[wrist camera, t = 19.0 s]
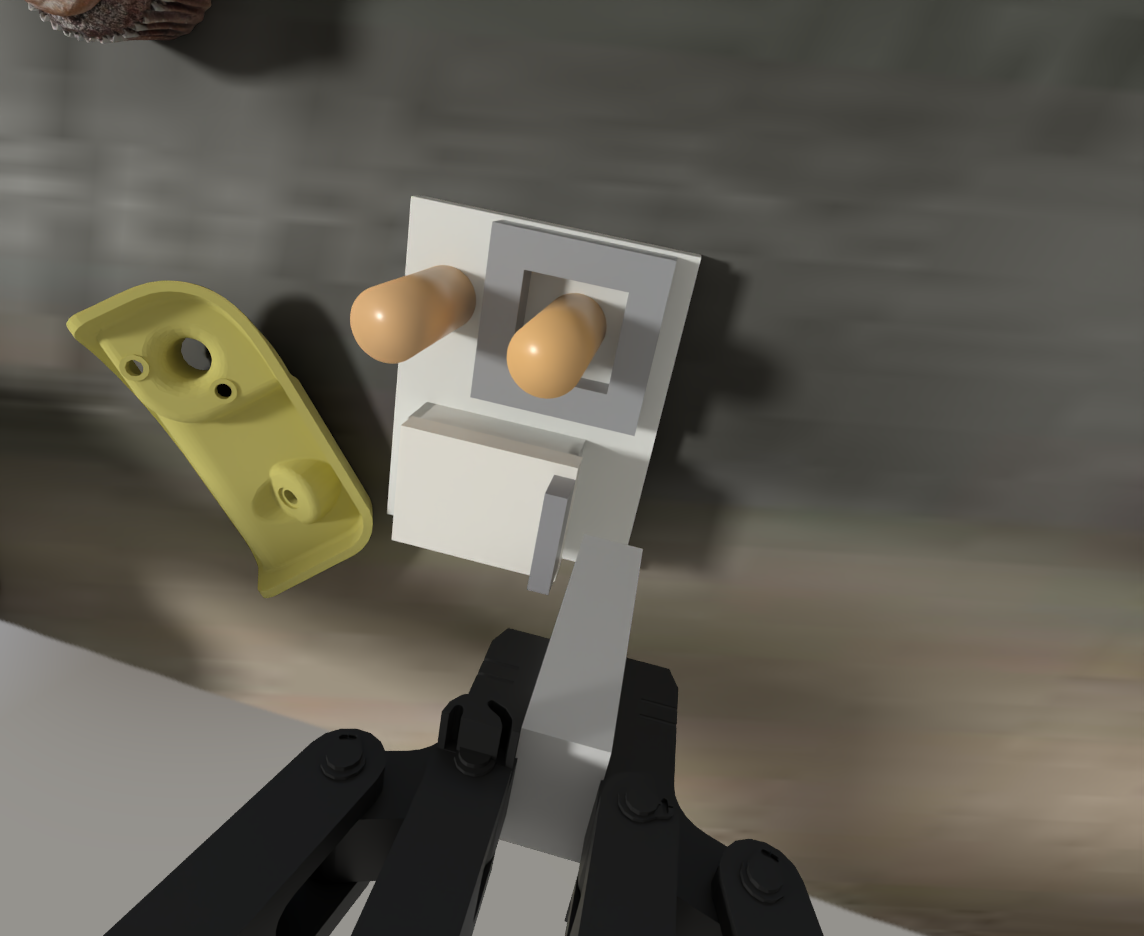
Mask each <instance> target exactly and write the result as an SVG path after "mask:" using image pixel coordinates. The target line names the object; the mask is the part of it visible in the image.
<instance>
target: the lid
mask: <svg viewBox="0 0 1144 936" xmlns="http://www.w3.org/2000/svg"><path fill="white" fill-rule="evenodd" d="M582 458H583V457H580V456H576V455H572V454H568V453H564V452H559V451H555V450H551V449H547V448H543V447H539V446H535V445H530V444H526V443H522V442H518V441H514V440H510V439H506V438H501V437H497V436H493V435H489V434H485V433H481V432H477V431H472V430H468V429H464V428H460V427H456V426H452V425H447V424H443V423H439V422H435V421H431V420H427V419H423V418H418V417H414V416H412V417H410V418H409V419H408V420H407V421H406V422H404V423H403V424H402V425H401V430H400V443H399V455H398V467H397V479H396V492H395V504H394V516H393V528H392V540H394V541H398V542H402V543H406V544H410V545H414V546H418V547H421V548H425V549H429V550H433V551H437V552H441V553H445V554H449V555H452V556H456V557H460V558H464V559H468V560H472V561H476V562H480V563H484V564H487V565H491V566H495V567H499V568H503V569H507V570H511V571H515V572H518V573H522V574H526V575H530V576H529V581H528V586H527V590H530V591H534V592H538V593H542V594H546V595H548V594H549V591H550V589H551V586H552V583H553V582H555V579H556V576H557V574H558V571H559V568H560V564H561V559H562V554H563V549H564V545H565V540H566V535H567V530H568V526H569V521H570V516H571V511H572V506H573V502H574V497H575V492H576V487H577V482H578V478H579V473H580V468H581V463H582Z"/></svg>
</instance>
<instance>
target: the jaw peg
mask: <svg viewBox="0 0 1144 936" xmlns="http://www.w3.org/2000/svg"><path fill="white" fill-rule="evenodd" d="M606 328H607V325H606V318H605V315H604V312H603V310H602V309H601V307H600V306H599V304H598V303H597V302H596V301H594V300H593V299H592V298H590V297H588V296H586V295H584V294H580V293H568V294H564V295H562V296H560V297H558V298H556V299H555V300H554V301H553V302H551V303H550V304H549V305H548V306H547V307H546V308H544V309H543V310H542V311H541V312H540V313H538V314H537V315H536V316H535V317H534V318H532V319H531V320H530V321H529V322H528V323H526V324H525V325H524V326H523V327H522V328H521V329H519V330H518V331H517V332H516V333H515V334H514V336H513V337H512V339H511V341H510V343H509V346H508V350H507V365H508V369H509V372H510V374H511V376H512V378H513V380H514V381H515V383H516V384H517V385H518V386H519V387H520V388H521V389H522V390H524V391H525V392H526V393H528V394H530V395H532V396H535V397H538V398H544V399H551V398H557V397H560V396H563V395H565V394H567V393H568V392H570V391H571V390H572V389H573V388H574V387H575V386H576V385H577V383H578V382H579V380H580V379H581V377H582V375H583V374H584V372H585V370H586V369H587V367H588V365H589V364H590V362H591V360H592V359H593V357H594V355H595V354H596V352H597V350H598V349H599V347H600V345H601V343H602V342H603V340H604V337H605V334H606Z"/></svg>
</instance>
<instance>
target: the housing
mask: <svg viewBox="0 0 1144 936" xmlns="http://www.w3.org/2000/svg"><path fill="white" fill-rule="evenodd" d="M700 261H701V255H700V254H695V253H690V252H686V251H681V250H676V249H672V248H667V247H662V246H657V245H653V244H648V243H643V242H639V241H634V240H629V239H625V238H620V237H615V236H610V235H606V234H601V233H596V232H592V231H587V230H582V229H577V228H573V227H568V226H563V225H559V224H554V223H549V222H544V221H540V220H535V219H530V218H526V217H521V216H516V215H511V214H507V213H502V212H497V211H493V210H488V209H483V208H479V207H474V206H469V205H464V204H460V203H455V202H450V201H446V200H441V199H436V198H431V197H427V196H422V195H420V196H411V206H410V219H409V232H408V245H407V258H406V271H405V276H404V277H401V278H398V279H395V280H392V281H389V282H386V283H383V284H380V285H377V286H374V287H371V288H368V289H366V290H365V291H363V292H362V293H361V294H360V295H359V296H358V297H357V298H356V300H355V302H354V304H353V306H352V309H351V315H350V323H351V329H352V332H353V335H354V337H355V339H356V341H357V343H358V344H359V346H360V347H361V348H362V349H363V350H364V351H365V352H366V353H367V354H368V355H369V356H371V357H372V358H374V359H376V360H378V361H381V362H384V363H398V376H397V389H396V402H395V415H394V428H393V441H392V454H391V467H390V480H389V493H388V506H387V514H390V515H394V504H395V492H396V479H397V467H398V455H399V443H400V430H401V425H402V424H403V423H404V422H406V421H407V420H408V419H409V418H410V417H412V416H414V417H418V418H423V419H427V420H431V421H435V422H439V423H443V424H447V425H452V426H456V427H460V428H464V429H468V430H472V431H477V432H481V433H485V434H489V435H493V436H497V437H501V438H506V439H510V440H514V441H518V442H522V443H526V444H530V445H535V446H539V447H543V448H547V449H551V450H555V451H559V452H564V453H568V454H572V455H576V456H580V457H583V458H582V463H581V468H580V473H579V478H578V482H577V487H576V492H575V497H574V502H573V506H572V511H571V516H570V521H569V526H568V530H567V535H566V540H565V545H564V549H563V554H562V558H563V559H567V560H571V561H575V562H576V559H577V555H578V552H579V549H580V546H581V543H582V540H583V537H584V534H586V535H590V536H594V537H598V538H602V539H606V540H610V541H614V542H618V543H622V544H625V545H628V543H629V539H630V535H631V531H632V527H633V523H634V519H635V516H636V512H637V508H638V504H639V500H640V496H641V492H642V488H643V484H644V480H645V476H646V472H647V469H648V465H649V461H650V457H651V453H652V449H653V445H654V441H655V437H656V433H657V429H658V425H659V422H660V418H661V414H662V410H663V406H664V402H665V398H666V394H667V390H668V386H669V382H670V378H671V374H672V371H673V367H674V363H675V359H676V355H677V351H678V347H679V343H680V339H681V335H682V331H683V327H684V324H685V320H686V316H687V312H688V308H689V304H690V300H691V296H692V292H693V288H694V284H695V280H696V277H697V273H698V269H699V265H700ZM568 293H580V294H584V295H586V296H588V297H590V298H592V299H593V300H594V301H596V302H597V303H598V304H599V306H600V307H601V309H602V310H603V312H604V315H605V318H606V325H607V328H606V334H605V337H604V340H603V342H602V343H601V345H600V347H599V349H598V350H597V352H596V354H595V355H594V357H593V359H592V360H591V362H590V364H589V365H588V367H587V369H586V370H585V372H584V374H583V375H582V377H581V379H580V380H579V382H578V383H577V385H576V386H575V387H574V388H573V389H572V390H571V391H570V392H568V393H567V394H565V395H563V396H560V397H557V398H551V399H544V398H538V397H535V396H532V395H530V394H528V393H526V392H525V391H524V390H522V389H521V388H520V387H519V386H518V385H517V384H516V383H515V381H514V380H513V378H512V376H511V374H510V372H509V369H508V365H507V350H508V346H509V343H510V341H511V339H512V337H513V336H514V334H515V333H516V332H517V331H518V330H519V329H521V328H522V327H523V326H524V325H525V324H526V323H528V322H529V321H530V320H531V319H532V318H534V317H535V316H536V315H537V314H538V313H540V312H541V311H542V310H543V309H544V308H546V307H547V306H548V305H549V304H550V303H551V302H553V301H554V300H555V299H556V298H558V297H560V296H562V295H564V294H568Z"/></svg>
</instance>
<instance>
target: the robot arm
mask: <svg viewBox="0 0 1144 936" xmlns="http://www.w3.org/2000/svg"><path fill="white" fill-rule="evenodd" d="M642 552H643V549H641V548H637V547H633V546H629V545H625V544H622V543H618V542H614V541H610V540H606V539H602V538H598V537H594V536H590V535H586V534H584V537H583V540H582V543H581V546H580V549H579V552H578V555H577V559H576V562H575V565H574V568H573V571H572V574H571V577H570V580H569V583H568V586H567V589H566V592H565V595H564V599H563V602H562V605H561V608H560V611H559V614H558V617H557V620H556V623H555V626H554V629H553V632H552V635H551V639H548V638H544V637H540V636H536V635H533V634H529V633H525V632H521V631H517V630H514V629H510V628H508V629H507V630H505V631H504V632H503V633H501V634H500V635H499V636H498V637H496V638H495V639H494V640H493V641H492V643H491V645H490V647H489V649H488V652H487V654H486V656H485V659H484V661H483V663H482V665H481V667H480V669H479V672H478V675H477V676H476V678H475V681H474V683H473V685H472V687H471V689H470V692H469V694H464V695H461V696H459V697H457V698H455V699H454V700H452V701H450V702H449V703H448V705H447V706H446V707H445V708H444V710H443V711H442V714H441V722H440V729H439V737H438V743H436V744H434V745H432V746H430V747H427V748H423V749H420V750H411V751H385V750H384V748H383V745H382V743H381V741H379V740H378V739H377V738H376V737H375V736H373V735H372V734H371V733H368V732H365V731H362V730H359V729H339V730H335V731H332V732H329V733H325V734H324V735H322V736H321V737H319V738H318V739H316V740H315V741H313V742H312V743H311V744H310V745H309V746H307V747H306V748H305V749H304V750H303V751H302V752H301V753H300V754H299V755H298V756H297V757H295V758H294V759H293V760H292V761H291V762H290V763H289V764H288V765H287V766H286V767H285V768H284V769H283V770H281V771H280V772H279V773H278V774H277V775H276V776H275V777H274V778H273V779H272V780H271V781H270V782H268V783H267V784H266V785H265V786H264V787H263V788H262V789H261V790H260V791H259V792H258V793H257V794H256V795H254V796H253V797H252V798H251V799H250V800H249V801H248V802H247V803H246V804H245V805H244V806H243V807H242V808H241V809H239V810H238V811H237V812H236V813H235V814H234V815H233V816H232V817H231V818H230V819H229V820H227V821H226V822H225V823H224V824H223V825H222V826H221V827H220V828H219V829H218V830H217V831H216V832H214V833H213V834H212V835H211V836H210V837H209V838H208V839H207V840H206V841H205V842H204V843H203V844H201V845H200V846H199V847H198V848H197V849H196V850H195V851H194V852H193V853H192V854H191V855H190V856H189V857H188V858H186V860H184V861H183V862H182V863H181V864H180V865H179V866H178V867H177V868H176V869H175V870H173V871H172V872H171V873H170V874H169V875H168V876H167V877H166V878H165V879H164V880H163V881H162V882H161V883H159V884H158V885H157V886H156V887H155V888H154V889H153V890H152V891H151V892H150V893H149V894H148V895H146V896H145V897H144V898H143V899H142V900H141V901H140V902H139V903H138V904H137V905H136V906H135V907H134V908H132V909H131V910H130V911H129V912H128V913H127V914H126V915H125V916H124V917H123V918H122V919H121V920H119V921H118V922H117V923H116V924H115V925H114V926H113V927H112V928H111V929H110V930H109V931H108V932H107V933H105V934H104V935H103V936H329V935H330V934H331V933H332V931H333V930H334V929H335V927H336V926H337V925H338V923H339V922H340V921H341V919H342V918H343V917H344V916H345V914H346V913H347V912H348V910H349V909H350V907H351V906H352V905H353V904H354V903H355V901H356V900H357V899H358V897H359V896H360V895H361V893H362V892H363V891H364V889H365V888H366V887H367V885H368V884H369V882H370V881H376V882H375V885H374V886H373V889H372V891H371V893H370V895H369V897H368V899H367V902H366V904H365V906H364V908H363V910H362V913H361V915H360V917H359V919H358V921H357V924H356V926H355V928H354V930H353V932H352V935H351V936H472V933H473V930H474V926H475V923H476V920H477V917H478V913H479V910H480V906H481V903H482V900H483V897H484V893H485V890H486V886H487V883H488V880H489V876H490V873H491V870H492V864H493V860H494V855H495V850H496V847H497V844H498V841H499V839H500V840H503V841H507V842H510V843H513V844H517V845H521V846H524V847H527V848H531V849H534V850H537V851H541V852H544V853H548V854H551V855H554V856H558V857H561V858H565V859H568V860H572V861H575V862H579V863H580V866H579V872H578V876H577V880H576V884H575V887H574V890H573V894H572V897H571V901H570V904H569V907H568V911H567V914H566V918H565V921H566V922H567V927H566V932H565V936H823V933H822V930H821V927H820V925H819V922H818V920H817V917H816V914H815V911H814V909H813V906H812V904H811V901H810V898H809V895H808V893H807V890H806V887H805V885H804V882H803V880H802V878H801V876H800V875H799V873H798V871H797V869H796V867H795V866H794V865H793V864H792V862H791V861H790V860H789V859H788V858H787V857H786V856H785V855H784V854H783V853H782V852H780V851H779V850H777V849H775V848H774V847H772V846H770V845H769V844H767V843H765V842H761V841H757V840H753V839H745V840H738V841H735V842H733V843H732V844H731V845H729V846H728V847H727V846H725V845H723V844H722V843H720V842H719V841H717V840H715V839H714V838H712V837H710V836H709V835H707V834H705V833H704V832H703V831H701V830H700V829H699V828H697V827H696V826H695V825H694V824H693V823H692V822H691V821H690V820H689V819H688V818H687V817H686V816H685V814H684V813H683V811H682V810H681V808H680V806H679V804H678V802H677V799H676V796H675V790H674V773H675V750H676V724H677V703H678V687H677V685H676V683H675V681H674V678H673V676H672V674H671V672H670V670H669V669H667V668H663V667H659V666H656V665H652V664H648V663H644V662H640V661H637V660H633V659H629V658H626V655H627V649H628V642H629V636H630V629H631V623H632V616H633V610H634V603H635V597H636V590H637V584H638V577H639V571H640V565H641V558H642Z"/></svg>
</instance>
